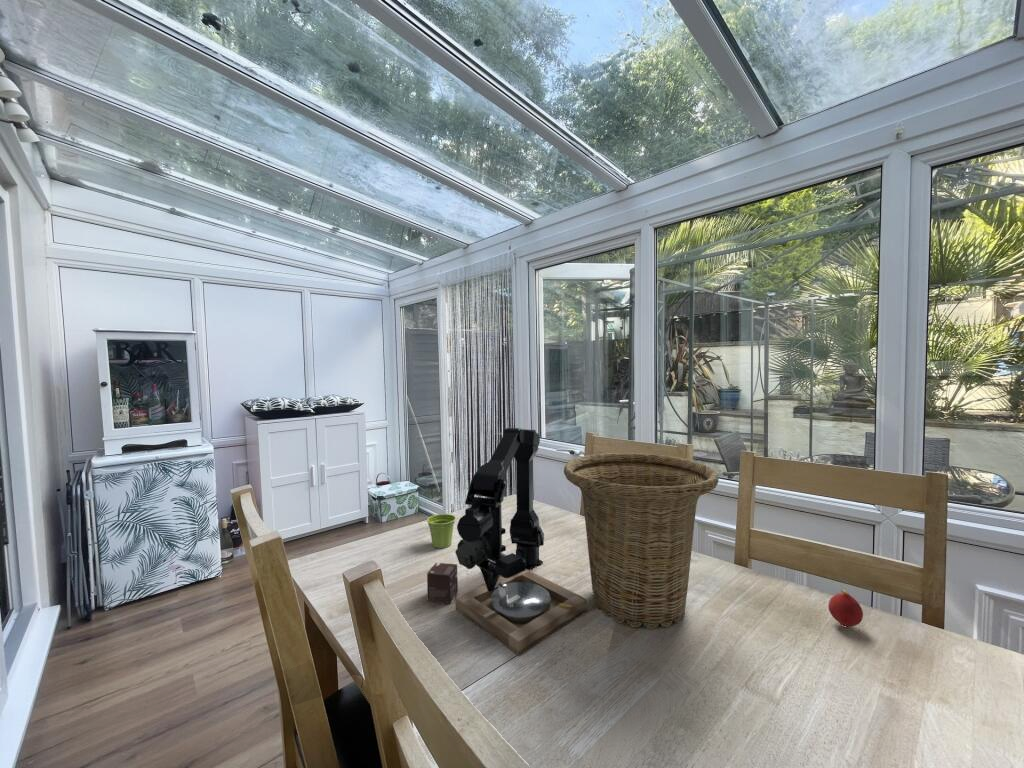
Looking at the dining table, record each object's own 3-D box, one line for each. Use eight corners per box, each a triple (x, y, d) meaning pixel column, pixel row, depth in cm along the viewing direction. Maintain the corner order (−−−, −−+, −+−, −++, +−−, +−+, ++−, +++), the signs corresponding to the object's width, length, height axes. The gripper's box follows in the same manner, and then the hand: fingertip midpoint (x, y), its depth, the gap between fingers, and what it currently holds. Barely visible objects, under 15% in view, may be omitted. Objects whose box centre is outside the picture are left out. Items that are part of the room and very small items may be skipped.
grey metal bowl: (521, 583, 108) (521, 557, 108) (563, 606, 98) (562, 576, 98) (479, 604, 99) (478, 575, 99) (519, 631, 88) (519, 599, 88)
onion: (855, 621, 92) (855, 586, 92) (867, 637, 87) (868, 599, 87) (824, 616, 94) (824, 582, 94) (834, 632, 89) (835, 595, 89)
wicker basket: (593, 558, 125) (592, 448, 124) (724, 588, 107) (724, 459, 106) (540, 618, 95) (538, 474, 94) (709, 674, 77) (709, 497, 76)
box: (450, 605, 101) (449, 575, 101) (426, 602, 103) (426, 573, 102) (458, 591, 107) (457, 563, 107) (436, 589, 109) (435, 562, 108)
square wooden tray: (522, 577, 114) (522, 566, 114) (587, 611, 98) (587, 597, 97) (455, 610, 99) (455, 596, 99) (518, 656, 83) (518, 640, 83)
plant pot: (424, 542, 139) (423, 516, 138) (451, 537, 143) (451, 511, 142) (431, 553, 130) (430, 525, 130) (460, 547, 134) (459, 520, 134)
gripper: (438, 523, 99) (439, 588, 99) (487, 547, 85) (489, 622, 86) (475, 512, 106) (476, 572, 107) (526, 532, 92) (527, 601, 93)
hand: (490, 590), depth 98 cm, fingers closed
